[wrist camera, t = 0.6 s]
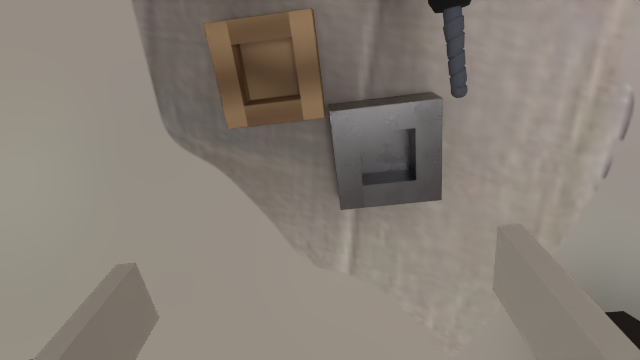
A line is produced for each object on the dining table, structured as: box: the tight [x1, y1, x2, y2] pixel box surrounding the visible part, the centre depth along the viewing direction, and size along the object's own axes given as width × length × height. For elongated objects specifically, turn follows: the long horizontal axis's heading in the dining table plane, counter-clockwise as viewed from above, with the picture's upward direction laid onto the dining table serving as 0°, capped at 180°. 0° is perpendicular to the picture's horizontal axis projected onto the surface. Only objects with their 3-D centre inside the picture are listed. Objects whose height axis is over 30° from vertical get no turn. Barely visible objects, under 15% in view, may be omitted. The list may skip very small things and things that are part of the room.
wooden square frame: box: [204, 9, 325, 129], centre depth 32 cm, size 9×9×4 cm
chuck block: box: [329, 92, 442, 210], centre depth 35 cm, size 10×10×4 cm
